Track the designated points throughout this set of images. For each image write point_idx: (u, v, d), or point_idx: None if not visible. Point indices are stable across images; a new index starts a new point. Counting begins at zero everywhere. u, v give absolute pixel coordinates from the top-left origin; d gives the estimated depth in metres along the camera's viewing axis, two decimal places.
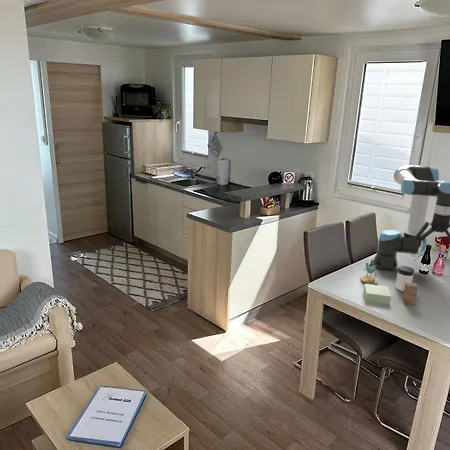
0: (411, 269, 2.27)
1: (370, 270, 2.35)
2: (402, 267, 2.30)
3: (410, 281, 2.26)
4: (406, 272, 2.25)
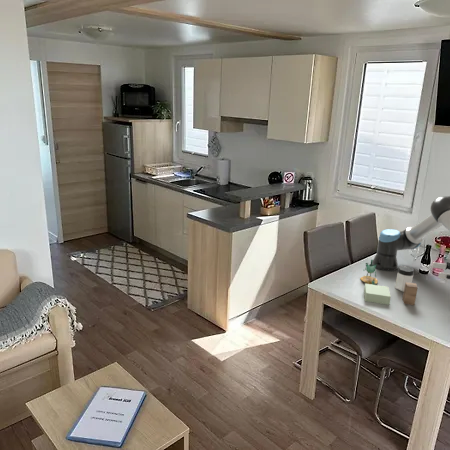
0: (411, 269, 2.27)
1: (370, 270, 2.35)
2: (402, 267, 2.30)
3: (410, 281, 2.26)
4: (406, 272, 2.25)
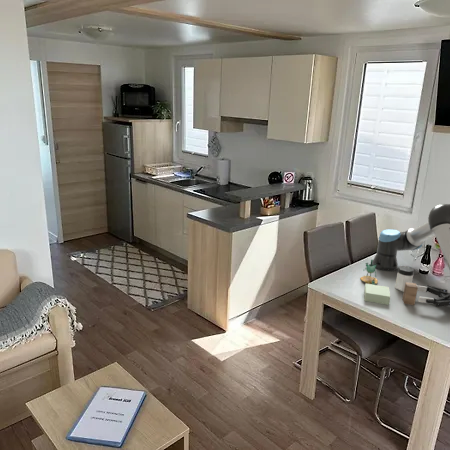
0: (411, 269, 2.27)
1: (370, 270, 2.35)
2: (402, 267, 2.30)
3: (410, 281, 2.26)
4: (406, 272, 2.25)
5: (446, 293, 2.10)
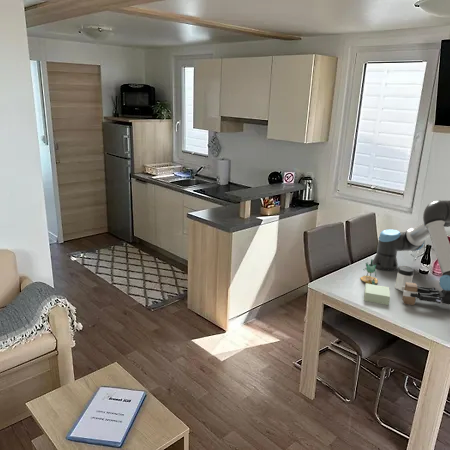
0: (411, 269, 2.27)
1: (370, 270, 2.35)
2: (402, 267, 2.30)
3: (410, 281, 2.26)
4: (406, 272, 2.25)
5: (437, 291, 2.12)
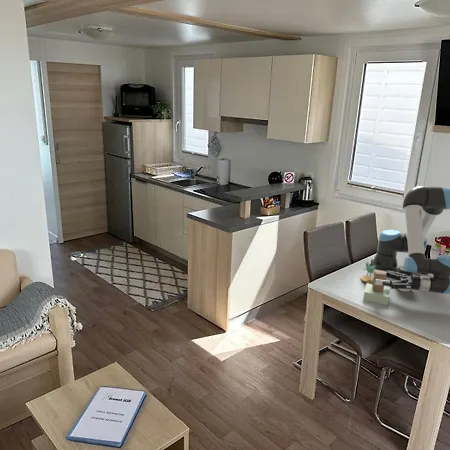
0: None
1: (370, 270, 2.36)
2: (402, 267, 2.30)
3: None
4: (406, 272, 2.25)
5: (405, 277, 2.13)
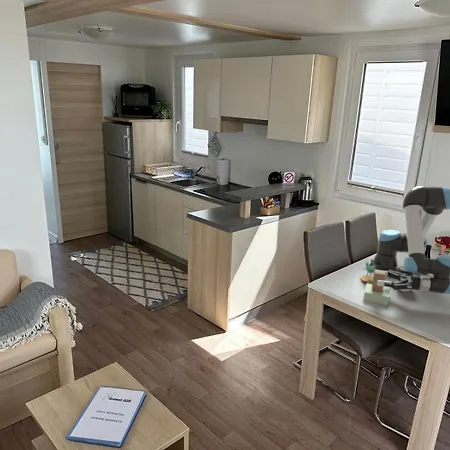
0: None
1: (370, 270, 2.36)
2: (402, 267, 2.30)
3: None
4: (406, 272, 2.25)
5: (405, 277, 2.13)
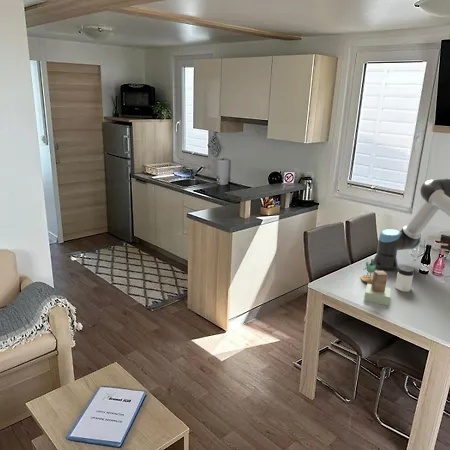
0: (411, 269, 2.27)
1: (370, 269, 2.36)
2: (402, 267, 2.30)
3: (410, 281, 2.26)
4: (406, 272, 2.25)
5: None
